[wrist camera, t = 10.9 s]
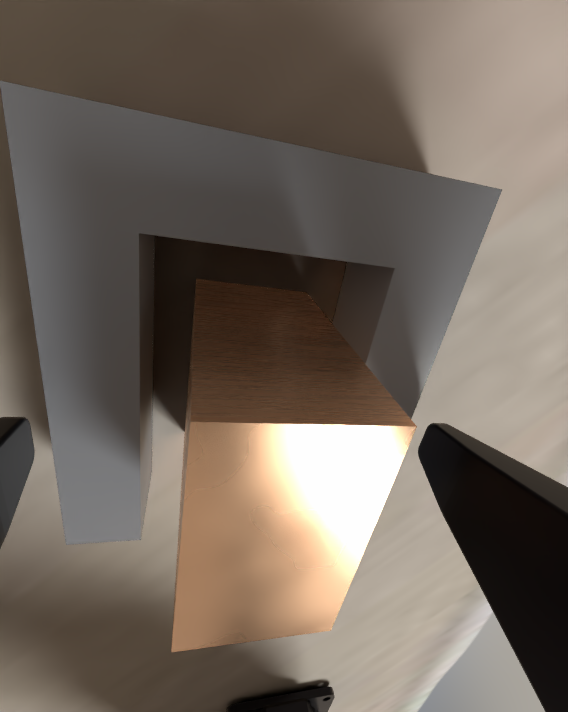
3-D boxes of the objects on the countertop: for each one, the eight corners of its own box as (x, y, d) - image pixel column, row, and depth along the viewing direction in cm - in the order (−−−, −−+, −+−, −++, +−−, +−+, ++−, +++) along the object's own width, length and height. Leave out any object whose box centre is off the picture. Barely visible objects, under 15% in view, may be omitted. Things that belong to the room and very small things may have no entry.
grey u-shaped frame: (342, 467, 14) (369, 524, 11) (91, 472, 11) (66, 544, 9) (432, 183, 9) (502, 189, 7) (60, 105, 7) (-1, 80, 5)
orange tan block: (276, 433, 12) (330, 630, 7) (184, 431, 11) (171, 652, 6) (306, 291, 10) (416, 427, 5) (196, 278, 9) (190, 422, 4)
